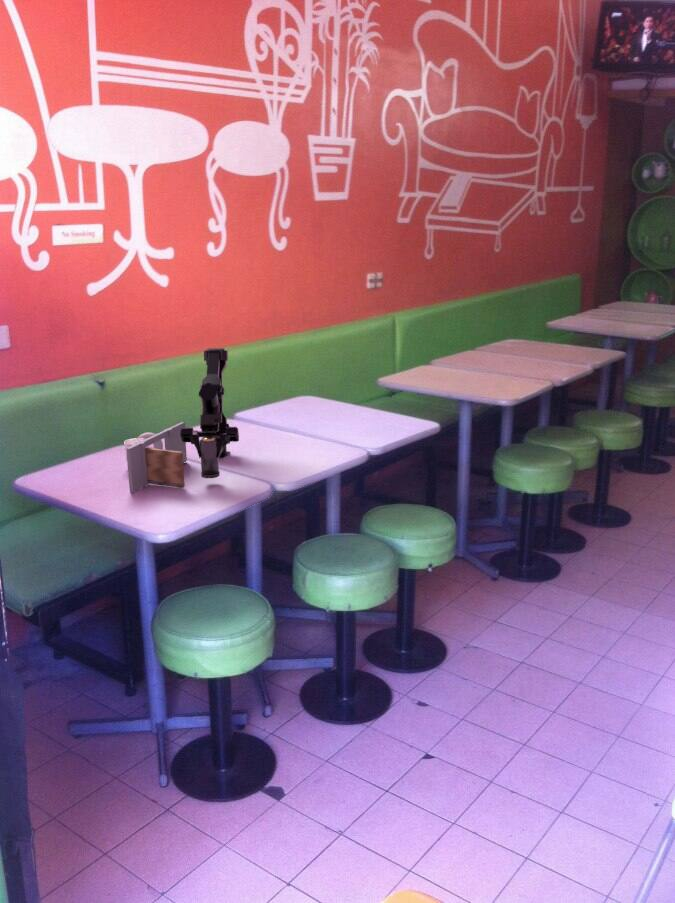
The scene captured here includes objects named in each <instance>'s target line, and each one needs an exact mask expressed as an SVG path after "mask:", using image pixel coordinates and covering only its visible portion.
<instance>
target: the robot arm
mask: <svg viewBox="0 0 675 903" xmlns="http://www.w3.org/2000/svg"><path fill="white" fill-rule="evenodd" d="M203 361H204V362H206V376H205V377H204V378H203V379H202V381H201V385H200V386H199V390H198V397H199V399H200V403H201V406H202V407H201V408H202V413H201V414H200V415H199V416H200V423H199V424H200V425H199V426H200V427H199V428H200V430H195V429H194V427H191V426H190V427H189V426H188V427H186V426H185V427H183V428H182V429H181V431H180V435H181V439H182V442H186V443H190V445H194V447H195V449H196V451H197V454H198V458H199V459H201V451H200V438H202V437H205V436H213V437H215V439H217V443H218V459H219V458H220V459H221V458H222V459H223V458H226V456H228V455H230V454H231V451H227V445H228V444H230V443H231V442H233V443H235V442H239V441H240V433H239V428H238V426H230V424H229V423H228V419H227V417H226V416H225V414H224V412H223V411H224V410H223V407H224V405H223V401H224V400H223V396H224V395H225V392H226V390H225V387H224V385H223V373H224V371H225V369H226V368H227V362H228V361H229V351H228V350H225V348H221V347H219V348H216V347H215V348H207V349H206V350H203Z"/></svg>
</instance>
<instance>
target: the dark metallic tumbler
mask: <svg viewBox="0 0 675 903" xmlns="http://www.w3.org/2000/svg"><path fill="white" fill-rule="evenodd" d="M199 441H200V451H201V458H200V466H201V467H200V468H201V472H200V476H201V478H203V479H216V478H219V476H220V475H221V474H220V469H219V467H220V466H219V458H218V443H217V439H215V437H213V436H205V437H201V439H199Z"/></svg>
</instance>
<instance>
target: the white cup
mask: <svg viewBox="0 0 675 903" xmlns="http://www.w3.org/2000/svg"><path fill="white" fill-rule="evenodd" d="M143 440H145V439H143V438H138V437H135V438H129V439H125V440H124V441H123V444H124V445H123V446H124V454H125V460H126V465H127V466H126V467H127V468H128V462H127V449H126V448H128V447H130V446H132V445H135V444H136V443H137V442H141V441H143ZM145 448H148V446H147V447H145Z"/></svg>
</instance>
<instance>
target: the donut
mask: <svg viewBox="0 0 675 903" xmlns="http://www.w3.org/2000/svg"><path fill="white" fill-rule="evenodd" d="M156 434H157V433H155V432H149V431H147V432H143V433H142V434H140V435H139V436H138V437H137V438H143V439H147V438H149V437H151V436H153V435H156ZM162 440H163V439H161V440H159V441H157V442H155V443H153V444H152V445H153V447H152V448H154V449H163V450H164V444H163V441H162Z"/></svg>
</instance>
